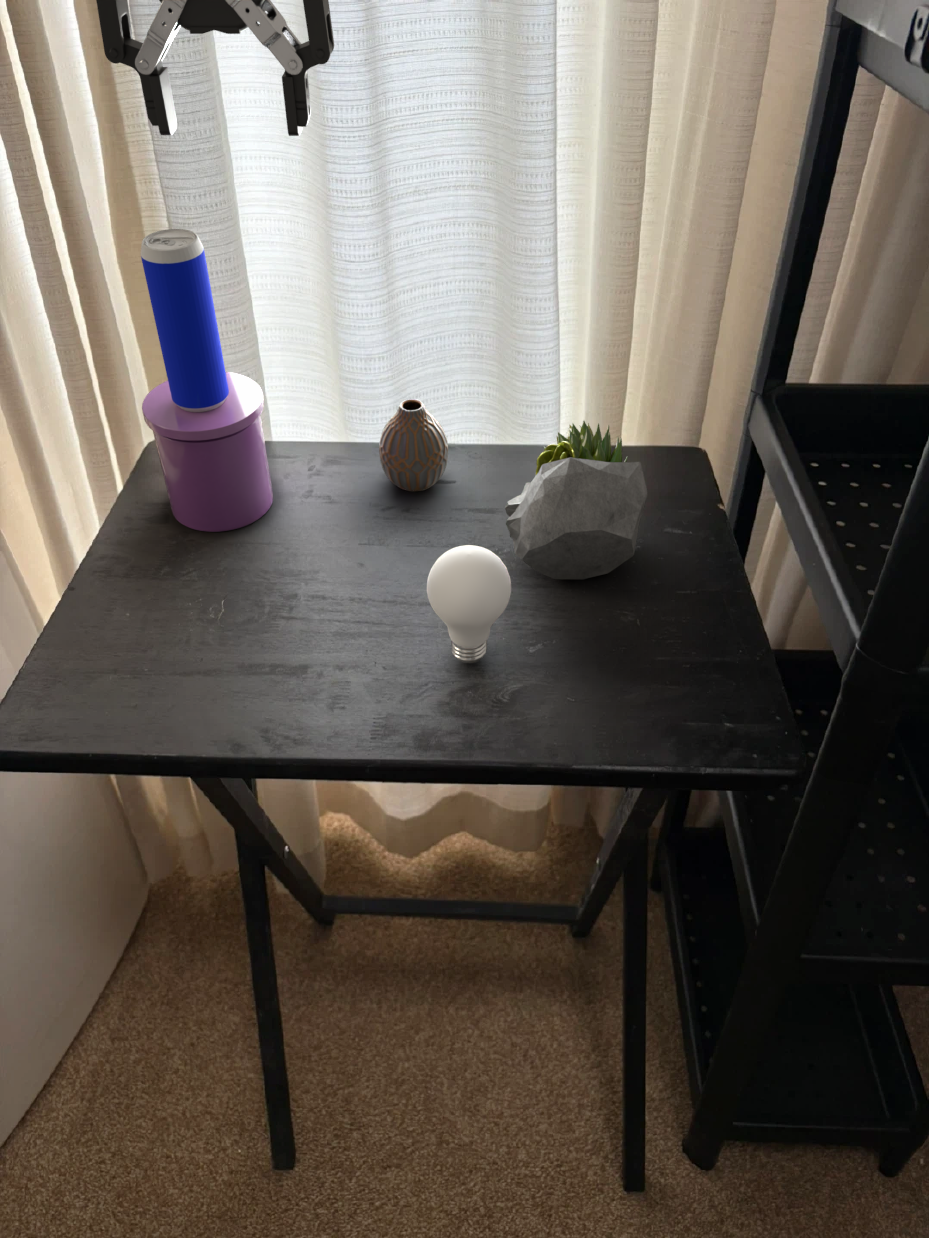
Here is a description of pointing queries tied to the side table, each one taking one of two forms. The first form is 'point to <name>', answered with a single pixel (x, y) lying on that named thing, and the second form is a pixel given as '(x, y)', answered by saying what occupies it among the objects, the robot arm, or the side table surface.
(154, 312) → the beverage can
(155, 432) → the jar
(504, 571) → the light bulb
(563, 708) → the side table surface
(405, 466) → the vase
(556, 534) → the potted plant
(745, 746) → the side table surface
